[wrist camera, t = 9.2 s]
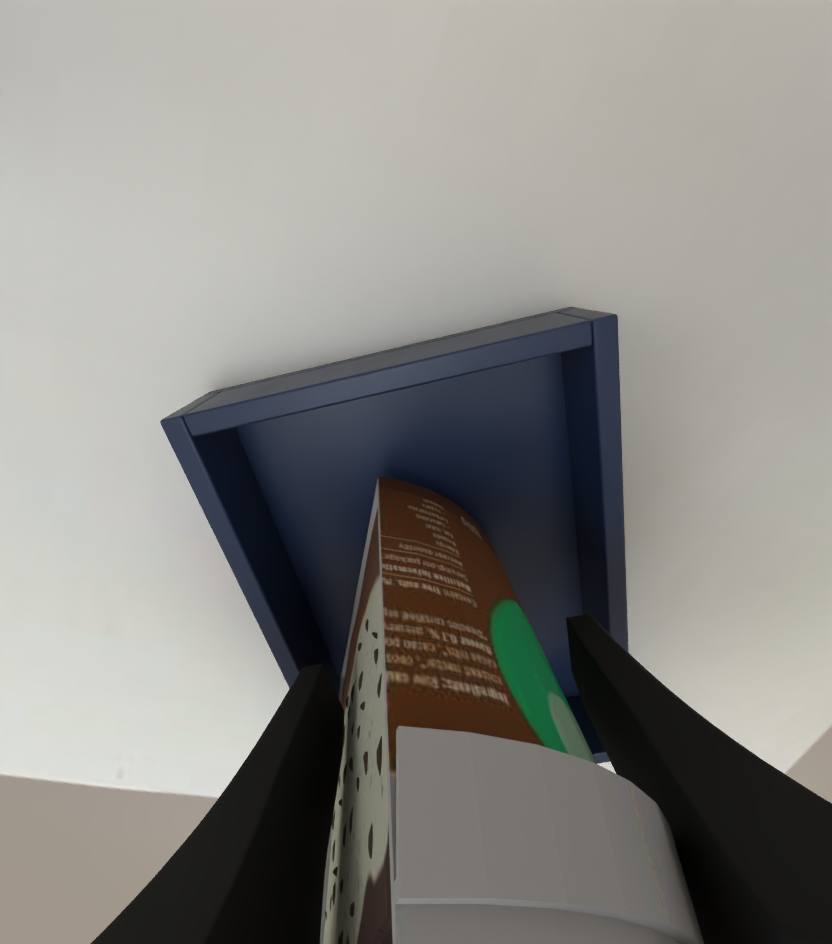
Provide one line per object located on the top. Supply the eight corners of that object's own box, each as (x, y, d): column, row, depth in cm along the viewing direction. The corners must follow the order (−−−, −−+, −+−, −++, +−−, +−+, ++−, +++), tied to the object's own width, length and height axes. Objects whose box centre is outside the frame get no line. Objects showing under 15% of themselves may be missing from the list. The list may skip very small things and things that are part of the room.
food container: (478, 704, 19) (562, 1113, 10) (336, 697, 18) (298, 1144, 9) (591, 461, 13) (1021, 959, 4) (386, 429, 12) (407, 1003, 3)
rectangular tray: (572, 306, 13) (618, 313, 10) (599, 690, 19) (632, 758, 16) (208, 391, 13) (158, 420, 11) (354, 733, 20) (346, 805, 17)
